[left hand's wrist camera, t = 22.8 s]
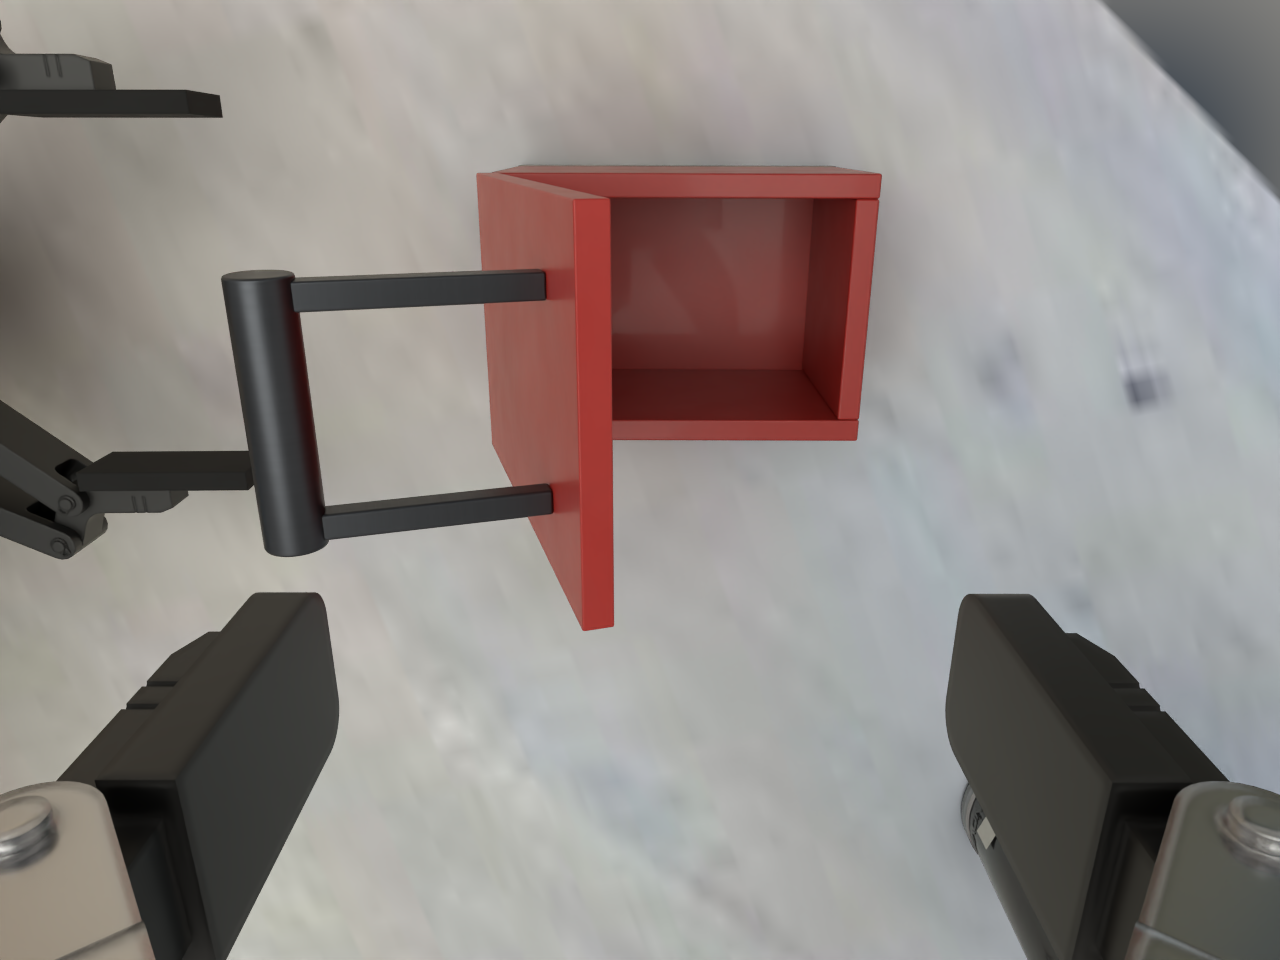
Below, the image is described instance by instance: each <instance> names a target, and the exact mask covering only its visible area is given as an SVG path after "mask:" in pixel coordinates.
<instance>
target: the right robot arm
mask: <svg viewBox="0 0 1280 960" xmlns="http://www.w3.org/2000/svg"><path fill="white" fill-rule="evenodd" d="M0 32H1V21H0ZM7 115H19V116H32V117H121V118H223V116H222V109H221V102H220V95H214V94H208V93H202V92H196V91H190V90H116V86H115V81H114V75H113V70H112V65H111V64H109V63H106V62H104V61H101V60H99V59H96V58H91V57H86V56H81V55H76V54H15V53H14V52H12V51H11V50H10V49H9V48H8V46H7V45H6V43H5V42H4V40H3V38H2V37H1V35H0V123H1V122H2V120H3V119H4V118H5V117H6V116H7ZM253 485H254V480H253V474H252V468H251V462H250V455H249V451H161V452H112V453H110V454H108V455H106V456H105V457H103V458H101V459H99V460H98V461H96V462H94V463H93V462H91V461H90V460H88V459H87V458H85V457H84V456H83V455H81V454H80V453H78V452H77V451H75V450H74V449H72V448H71V447H69V446H68V445H66V444H65V443H63V442H62V441H60V440H59V439H57V438H56V437H54V436H53V435H51V434H50V433H48V432H47V431H45V430H44V429H42V428H41V427H39V426H38V425H36V424H35V423H33V422H32V421H30V420H29V419H27V418H26V417H24V416H23V415H22V414H20V413H19V412H17V411H16V410H14V409H13V408H11V407H10V406H8V405H7V404H5V403H4V402H2V401H1V400H0V536H2V537H4V538H7V539H9V540H12V541H14V542H17V543H19V544H22V545H24V546H27V547H29V548H32V549H34V550H37V551H39V552H42V553H44V554H47V555H50V556H52V557H55V558H58V559H68V558H70V557H72V556H73V555H75V554H76V553H77V552H79V551H80V550H82V549H83V548H84V547H86V546H87V545H89V544H90V543H91V542H93V541H94V540H96V539H97V538H98V537H100V536H101V535H102V534H104V533H105V532H106V530H107V527H108V523H107V520H106V518H105V517H104V514H105V513H135V512H137V513H145V512H147V513H161V512H164V511H166V510H168V509H171V508H173V507H174V506H176V505H177V504H178V503H180V502H181V501H182V500H183V499H185V498H186V497H187V496H189V495H188V491H198V490H249V489H250V488H251V487H252V486H253Z"/></svg>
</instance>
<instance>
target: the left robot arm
mask: <svg viewBox="0 0 1280 960" xmlns="http://www.w3.org/2000/svg"><path fill="white" fill-rule="evenodd" d="M945 711H946V726H947V733H948V738H949V741H950V745H951V748H952V750H953V753H954V755H955V757H956V759H957V761H958V763H959V765H960V767H961V769H962V771H963V773H964V775H965V776H966V778H967V780H968V782H969V785H968V787H967V789H966V791H965V794H964V797H963V801H962V808H961V816H962V822H963V826H964V829H965V831H966V834H967V836H968V838H969V840H970V842H971V844H972V846H973V848H974V849H975V851H976V852H977V854H978V855H979V857H980V859H981V861H982V863H983V865H984V868H985V870H986V872H987V874H988V876H989V879H990V881H991V883H992V885H993V887H994V890H995V892H996V894H997V896H998V898H999V900H1000V902H1001V904H1002V907H1003V909H1004V911H1005V913H1006V915H1007V917H1008V919H1009V921H1010V923H1011V926H1012V928H1013V930H1014V932H1015V934H1016V936H1017V938H1018V940H1019V943H1020V945H1021V947H1022V949H1023V951H1024V953H1025V955H1026V957H1027V959H1028V960H1280V795H1278V794H1276V793H1273V792H1271V791H1268V790H1264V789H1261V788H1258V787H1254V786H1250V785H1245V784H1241V783H1234V782H1230V781H1229V780H1228V779H1227V778H1226V777H1225V776H1224V775H1223V774H1222V773H1221V772H1220V771H1219V770H1218V768H1217V767H1216V766H1215V765H1214V764H1213V763H1212V762H1211V761H1210V760H1209V759H1208V758H1207V756H1206V755H1205V754H1204V753H1203V752H1202V751H1201V750H1200V749H1199V748H1198V747H1197V746H1196V744H1195V743H1194V742H1193V741H1192V740H1191V739H1190V738H1189V737H1188V736H1187V735H1186V734H1185V732H1184V731H1183V730H1182V729H1181V728H1180V727H1179V726H1178V725H1177V724H1176V723H1175V722H1174V720H1173V719H1172V718H1171V717H1170V716H1169V715H1168V714H1167V713H1166V712H1161V711H1160V705H1159V704H1158V703H1157V702H1156V701H1155V700H1154V699H1153V698H1152V696H1151V695H1150V694H1149V693H1148V692H1147V691H1146V690H1145V689H1140V687H1139V682H1138V681H1137V680H1136V679H1135V678H1134V677H1133V676H1132V675H1131V674H1130V672H1129V671H1128V670H1127V669H1126V668H1125V667H1124V666H1123V665H1122V664H1121V663H1120V662H1119V660H1118V659H1117V658H1116V657H1115V656H1113V655H1112V654H1110V653H1108V652H1107V651H1105V650H1103V649H1102V648H1100V647H1098V646H1097V645H1095V644H1093V643H1092V642H1090V641H1088V640H1087V639H1085V638H1084V637H1082V636H1080V635H1079V634H1077V633H1065V632H1064V631H1063V630H1062V629H1061V628H1060V627H1059V625H1058V624H1057V623H1056V622H1055V621H1054V620H1053V618H1052V617H1051V616H1050V615H1049V614H1048V613H1047V611H1046V610H1045V609H1044V608H1043V607H1042V606H1041V604H1040V603H1039V602H1038V601H1037V600H1036V599H1035V598H1034V597H1033V596H1032V595H1030V594H968V595H966V596H965V597H964V599H963V600H962V602H961V605H960V608H959V613H958V620H957V627H956V634H955V640H954V647H953V654H952V661H951V668H950V675H949V682H948V689H947V696H946V709H945ZM338 721H339V698H338V690H337V683H336V676H335V669H334V662H333V655H332V648H331V641H330V634H329V627H328V620H327V613H326V608H325V604H324V601H323V599H322V597H321V596H320V595H319V594H318V593H255V594H253V595H252V596H251V597H250V598H249V599H248V600H247V601H246V602H245V603H244V605H243V606H242V607H241V608H240V609H239V610H238V612H237V613H236V614H235V615H234V616H233V618H232V619H231V620H230V621H229V622H228V623H227V625H226V626H225V627H224V628H223V629H222V630H221V632H208V633H206V634H204V635H203V636H201V637H199V638H198V639H196V640H194V641H193V642H191V643H189V644H188V645H186V646H184V647H183V648H181V649H180V650H178V651H176V652H175V653H173V654H171V655H170V656H169V658H168V659H167V660H166V661H165V662H164V663H163V664H162V665H161V666H160V667H159V669H158V670H157V671H156V672H155V673H154V674H153V675H152V676H151V677H150V678H149V680H148V681H147V686H146V687H141V688H140V689H139V691H138V692H137V693H136V694H135V695H134V696H133V697H132V698H131V699H130V700H129V702H128V703H127V707H126V709H121V710H120V711H119V713H118V714H117V715H116V716H115V717H114V718H113V719H112V720H111V721H110V722H109V724H108V725H107V726H106V727H105V728H104V729H103V730H102V731H101V732H100V733H99V735H98V736H97V737H96V738H95V739H94V740H93V741H92V742H91V743H90V744H89V746H88V747H87V748H86V749H85V750H84V751H83V752H82V753H81V754H80V755H79V757H78V758H77V759H76V760H75V761H74V762H73V763H72V764H71V765H70V766H69V768H68V769H67V770H66V771H65V772H64V773H63V774H62V775H61V776H60V777H59V779H58V780H57V781H54V782H46V783H39V784H35V785H30V786H26V787H22V788H19V789H16V790H12V791H9V792H7V793H4V794H2V795H0V960H226V959H227V957H228V955H229V953H230V951H231V949H232V947H233V945H234V943H235V941H236V939H237V937H238V935H239V933H240V931H241V929H242V927H243V925H244V923H245V921H246V919H247V917H248V915H249V913H250V911H251V909H252V907H253V905H254V903H255V901H256V899H257V897H258V895H259V893H260V891H261V889H262V887H263V885H264V883H265V881H266V879H267V878H268V876H269V874H270V872H271V870H272V868H273V866H274V864H275V862H276V860H277V858H278V856H279V854H280V852H281V850H282V848H283V846H284V844H285V842H286V840H287V838H288V836H289V834H290V832H291V830H292V828H293V826H294V824H295V822H296V820H297V818H298V816H299V814H300V812H301V810H302V808H303V806H304V804H305V802H306V800H307V798H308V796H309V794H310V792H311V790H312V788H313V786H314V784H315V782H316V780H317V778H318V776H319V774H320V772H321V770H322V768H323V766H324V764H325V762H326V761H327V759H328V757H329V755H330V753H331V750H332V748H333V745H334V742H335V738H336V734H337V729H338Z"/></svg>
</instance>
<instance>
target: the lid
mask: <svg viewBox="0 0 1280 960" xmlns="http://www.w3.org/2000/svg"><path fill="white" fill-rule="evenodd" d="M477 192H478V209H479V226H480V243H481V260H482V271H461V272H435V273H408V274H381V275H355V276H328V277H302V278H295V275H294V273H292V272H289V271H284V270H251V271H240V272H233V273H229V274H226V275H223V276H222V278H221V282H222V288H223V294H224V300H225V306H226V313H227V319H228V325H229V331H230V337H231V344H232V350H233V356H234V362H235V369H236V375H237V381H238V387H239V393H240V400H241V406H242V412H243V418H244V424H245V431H246V437H247V443H248V449H249V455H250V462H251V468H252V474H253V480H254V487H255V493H256V499H257V505H258V511H259V518H260V524H261V530H262V536H263V542H264V548H265V550H266V551H267V552H268V553H269V554H271V555H274V556H279V557H295V556H302V555H306V554H310V553H313V552H316V551H318V550H320V549H322V548H323V547H325V546H326V545H327V544H328V542H329V540H331V539H340V538H349V537H358V536H366V535H375V534H384V533H392V532H401V531H410V530H418V529H427V528H436V527H445V526H453V525H462V524H471V523H479V522H488V521H497V520H505V519H514V518H523V517H528V519H529V521H530V523H531V525H532V527H533V529H534V531H535V533H536V535H537V537H538V539H539V541H540V543H541V545H542V547H543V550H544V552H545V554H546V556H547V558H548V560H549V562H550V564H551V566H552V568H553V570H554V572H555V574H556V576H557V578H558V580H559V582H560V585H561V587H562V589H563V591H564V593H565V595H566V597H567V599H568V601H569V603H570V605H571V607H572V609H573V611H574V613H575V615H576V617H577V620H578V622H579V624H580V626H581V628H582V630H583V631H588V630H594V629H601V628H607V627H613V626H614V557H613V437H612V318H611V201H610V199H609V198H605V197H601V196H597V195H592V194H588V193H584V192H579V191H575V190H570V189H566V188H562V187H557V186H553V185H549V184H544V183H540V182H535V181H531V180H527V179H522V178H518V177H514V176H509V175H505V174H500V173H477ZM465 304H484V311H485V328H486V345H487V362H488V379H489V396H490V414H491V431H492V444H493V447H494V449H495V451H496V453H497V455H498V457H499V459H500V461H501V463H502V465H503V467H504V469H505V471H506V473H507V475H508V477H509V479H510V482H511V484H512V486H513V487H505V488H495V489H486V490H476V491H467V492H457V493H448V494H438V495H429V496H419V497H409V498H400V499H390V500H381V501H371V502H362V503H352V504H343V505H333V506H325V501H324V494H323V486H322V479H321V471H320V464H319V456H318V448H317V441H316V433H315V426H314V418H313V411H312V403H311V395H310V388H309V380H308V373H307V365H306V357H305V350H304V342H303V335H302V327H301V320H300V312H318V311H339V310H360V309H381V308H402V307H423V306H444V305H465Z"/></svg>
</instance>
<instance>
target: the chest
mask: <svg viewBox="0 0 1280 960" xmlns="http://www.w3.org/2000/svg"><path fill="white" fill-rule="evenodd" d="M492 173H500V174H505V175H509V176H514V177H518V178H522V179H527V180H531V181H535V182H540V183H544V184H549V185H553V186H557V187H562V188H566V189H570V190H575V191H579V192H584V193H588V194H592V195H597V196H601V197H605V198H609V199H610V201H611V318H612V437H613V440H810V441H855V440H857V435H858V424H859V421H858V418H859V412H860V401H861V391H862V380H863V369H864V359H865V348H866V337H867V327H868V316H869V305H870V295H871V284H872V273H873V263H874V252H875V241H876V231H877V220H878V209H879V200H878V198H879V197H880V190H881V179H882V175H881V174H879V173H872V172H865V171H858V170H852V169H845V168H838V167H834V166H654V165H520V166H518V167H514V168H509V169H505V170H501V171H496V172H492Z"/></svg>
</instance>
